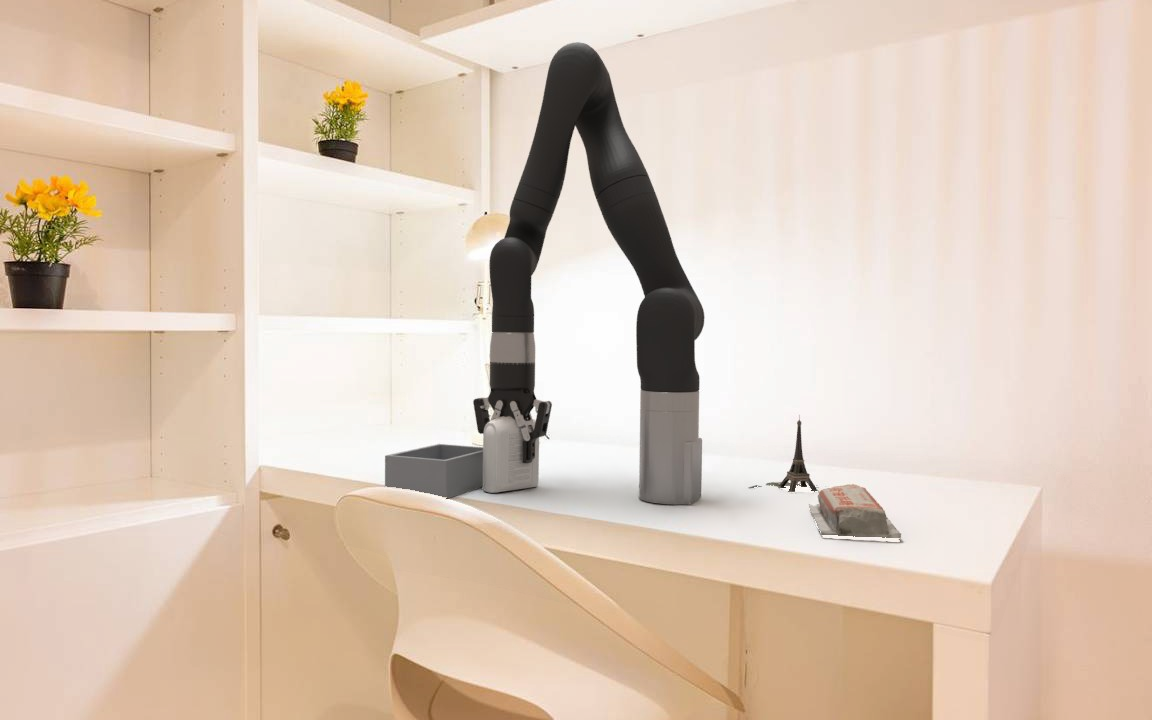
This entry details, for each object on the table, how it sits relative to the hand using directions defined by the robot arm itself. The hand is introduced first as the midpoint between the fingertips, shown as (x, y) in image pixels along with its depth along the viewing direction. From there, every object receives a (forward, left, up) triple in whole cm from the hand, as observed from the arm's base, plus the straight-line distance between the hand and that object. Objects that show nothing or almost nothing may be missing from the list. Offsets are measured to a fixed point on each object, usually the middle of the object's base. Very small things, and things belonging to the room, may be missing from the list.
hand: (511, 460), depth 134 cm
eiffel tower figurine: (-44, -22, -5) cm, 49 cm away
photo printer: (0, 0, -5) cm, 5 cm away
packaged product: (-54, +1, -5) cm, 54 cm away
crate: (+11, +4, -5) cm, 13 cm away
